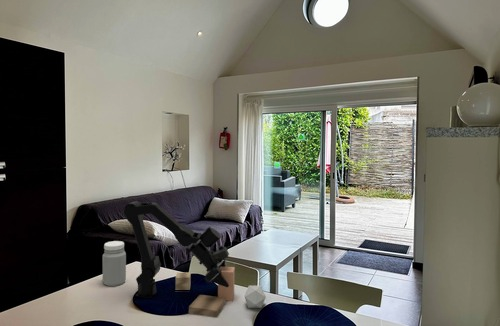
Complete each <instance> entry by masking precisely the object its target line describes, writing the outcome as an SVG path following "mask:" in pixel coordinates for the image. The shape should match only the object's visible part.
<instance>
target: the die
mask: <svg viewBox="0 0 500 326" xmlns="http://www.w3.org/2000/svg"><path fill="white" fill-rule="evenodd" d="M244 299H245V302H246V305H247V307H248V309H249V308H250V309H261V308H263V305H264V302H265V300H266V294H265V292H264V289H263V286H262V285H248V287H247V289H246V291H245V294H244Z"/></svg>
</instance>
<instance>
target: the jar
mask: <svg viewBox="0 0 500 326" xmlns="http://www.w3.org/2000/svg"><path fill="white" fill-rule="evenodd" d="M103 249H104V250H103V252H104V253H103V254H102V283H103V284H104V285H105V286H107V287H117V286H121V285H123V284H124V283H125V281H127V280H126V279H127V253H126V251H125V242H124V241H121V240H113V241H107V242H105V243H104V245H103Z"/></svg>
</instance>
